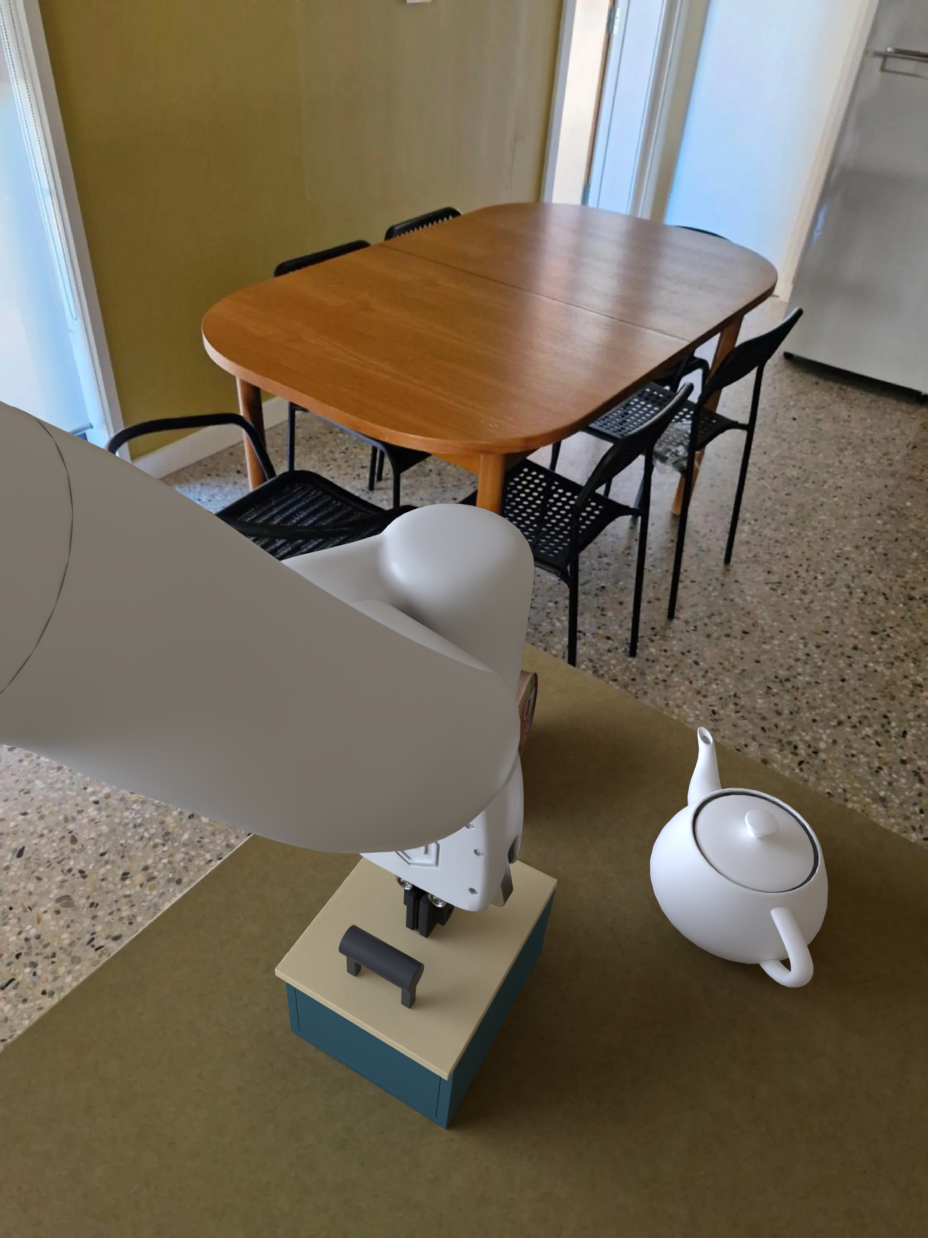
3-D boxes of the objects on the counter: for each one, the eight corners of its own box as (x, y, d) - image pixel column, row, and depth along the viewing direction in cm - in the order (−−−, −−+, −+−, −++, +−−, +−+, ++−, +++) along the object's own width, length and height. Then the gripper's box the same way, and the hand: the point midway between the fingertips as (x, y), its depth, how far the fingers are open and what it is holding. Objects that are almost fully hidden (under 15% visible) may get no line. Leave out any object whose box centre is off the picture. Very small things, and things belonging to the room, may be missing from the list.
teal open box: (446, 1130, 58) (454, 1069, 52) (290, 1031, 62) (283, 965, 57) (541, 953, 68) (556, 887, 63) (401, 879, 72) (404, 810, 67)
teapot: (863, 1015, 66) (920, 936, 59) (689, 1036, 64) (727, 956, 57) (748, 785, 83) (782, 703, 76) (607, 795, 81) (629, 712, 74)
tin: (490, 836, 76) (499, 771, 71) (455, 825, 77) (462, 760, 72) (536, 719, 87) (547, 656, 82) (505, 711, 88) (514, 647, 83)
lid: (447, 1081, 52) (452, 1041, 49) (275, 975, 56) (269, 932, 53) (556, 886, 63) (566, 843, 59) (404, 810, 67) (406, 766, 64)
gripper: (286, 713, 47) (303, 907, 59) (537, 835, 42) (501, 1021, 54) (365, 636, 53) (366, 828, 64) (597, 737, 48) (553, 925, 59)
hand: (428, 916), depth 59 cm, fingers closed
